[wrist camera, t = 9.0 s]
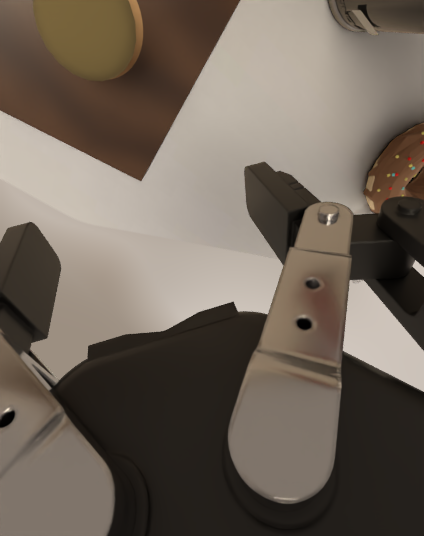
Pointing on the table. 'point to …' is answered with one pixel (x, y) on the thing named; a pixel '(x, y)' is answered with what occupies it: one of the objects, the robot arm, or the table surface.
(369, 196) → the donut
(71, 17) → the pepper shaker
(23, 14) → the placemat
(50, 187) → the table surface
